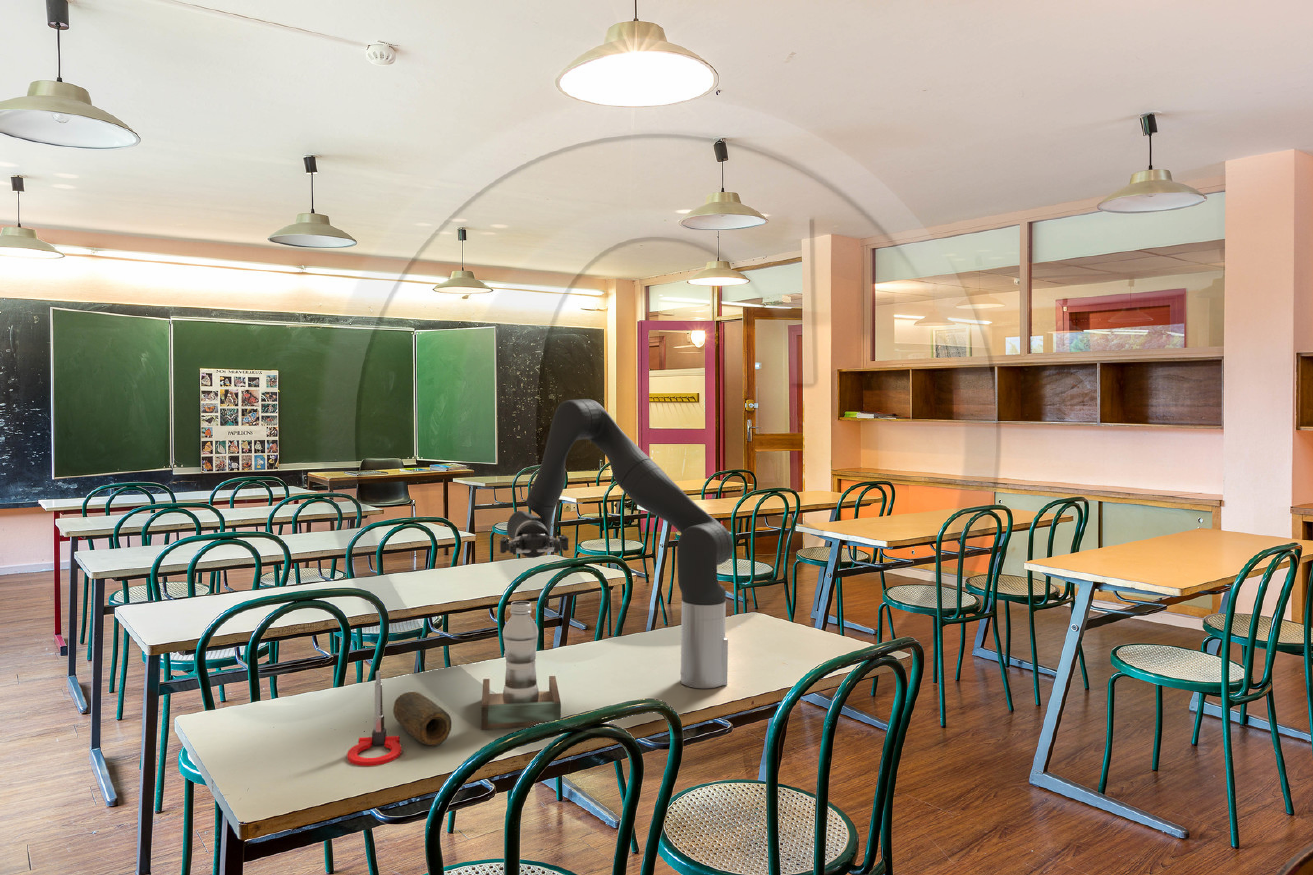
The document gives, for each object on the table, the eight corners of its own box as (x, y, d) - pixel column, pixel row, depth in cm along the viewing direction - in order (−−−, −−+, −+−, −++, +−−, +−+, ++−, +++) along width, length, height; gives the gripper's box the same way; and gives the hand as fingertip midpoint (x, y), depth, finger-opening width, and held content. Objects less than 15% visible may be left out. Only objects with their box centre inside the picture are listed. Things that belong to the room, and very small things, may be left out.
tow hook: (396, 767, 137) (405, 742, 146) (395, 689, 136) (404, 668, 145) (342, 770, 136) (354, 744, 145) (340, 691, 135) (353, 670, 144)
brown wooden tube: (459, 744, 146) (459, 705, 146) (420, 753, 142) (420, 713, 141) (423, 718, 158) (423, 682, 157) (385, 726, 153) (386, 689, 153)
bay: (555, 695, 170) (555, 675, 170) (560, 725, 154) (560, 703, 154) (483, 699, 168) (483, 679, 168) (481, 729, 152) (481, 707, 152)
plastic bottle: (532, 717, 155) (532, 608, 155) (496, 714, 157) (497, 605, 156) (543, 705, 162) (544, 600, 161) (509, 702, 163) (510, 598, 162)
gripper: (499, 522, 190) (500, 531, 174) (564, 520, 192) (570, 529, 176) (500, 556, 190) (500, 568, 174) (564, 553, 192) (570, 565, 176)
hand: (535, 548), depth 175 cm, fingers open, 8 cm apart
